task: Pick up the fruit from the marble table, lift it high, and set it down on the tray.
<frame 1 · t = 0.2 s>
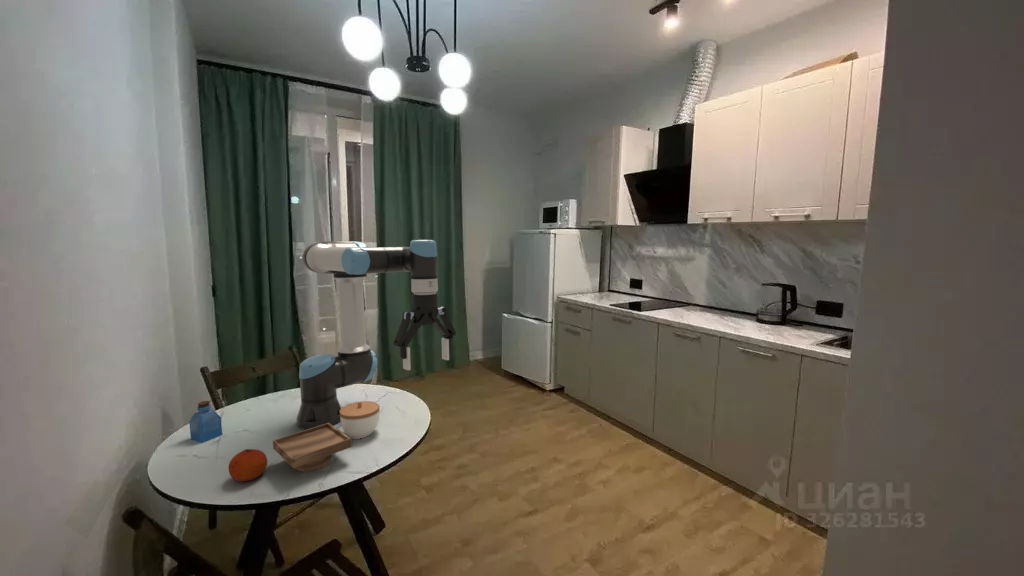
hand: (427, 364, 121), 28 cm above the table, fingers open, 13 cm apart
fruit: (249, 477, 112), on the table
tray: (313, 462, 119), on the table
lidded bowl: (361, 434, 137), on the table
perfume bottle: (206, 437, 135), on the table
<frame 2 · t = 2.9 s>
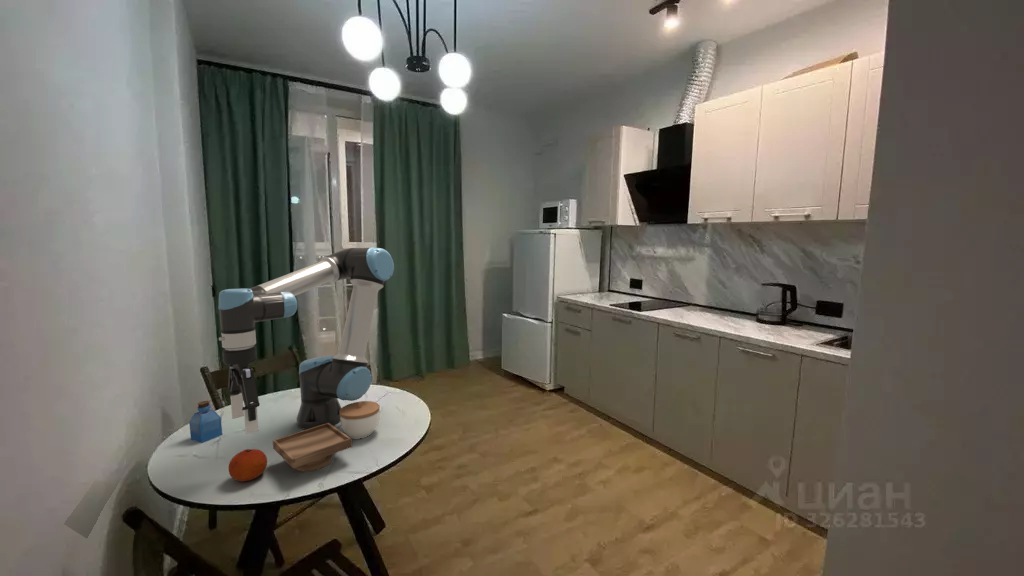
hand: (244, 424, 110), 15 cm above the table, fingers open, 13 cm apart
nothing on the table moved.
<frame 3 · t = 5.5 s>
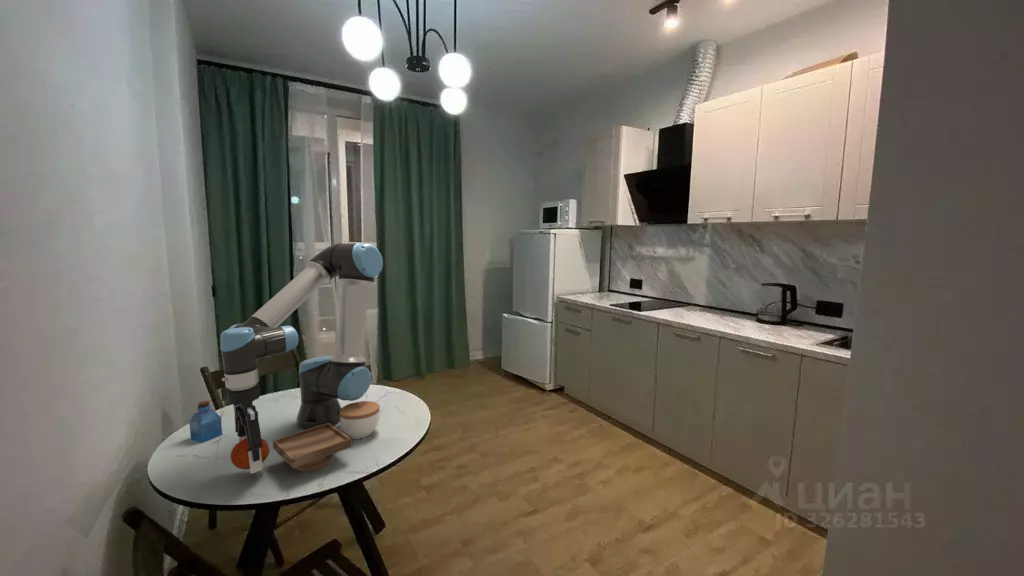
hand: (251, 464, 112), 3 cm above the table, fingers closed on fruit, 9 cm apart
fruit: (252, 465, 112), point 3 cm above the table, touching gripper
everything else where it was.
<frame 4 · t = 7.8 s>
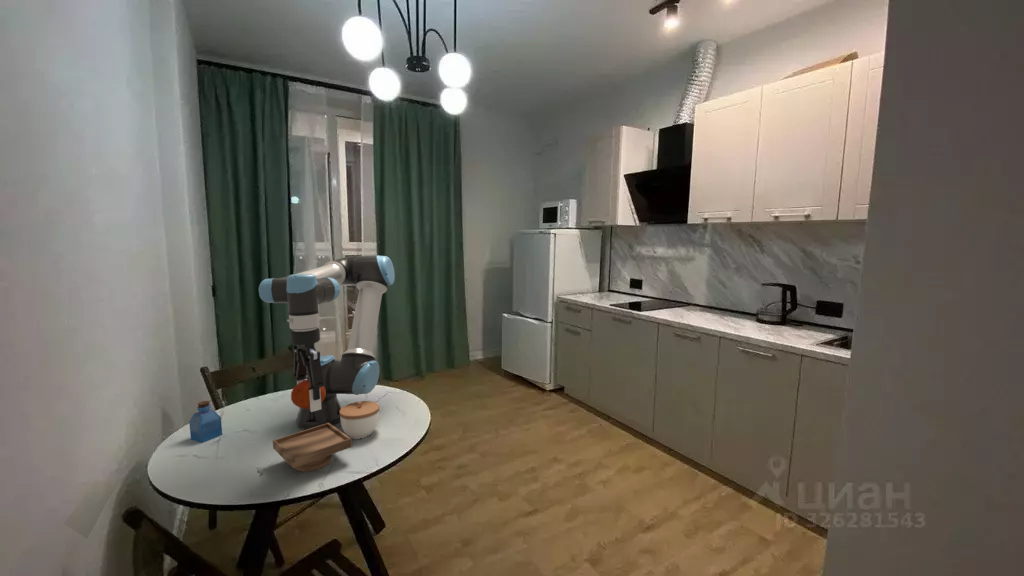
hand: (309, 405, 117), 17 cm above the table, fingers closed on fruit, 9 cm apart
fruit: (309, 407, 117), point 17 cm above the table, touching gripper
everything else where it was.
when the fingers open (7 cm above the table, at t = 10.1 s): fruit drops 1 cm, resting on tray.
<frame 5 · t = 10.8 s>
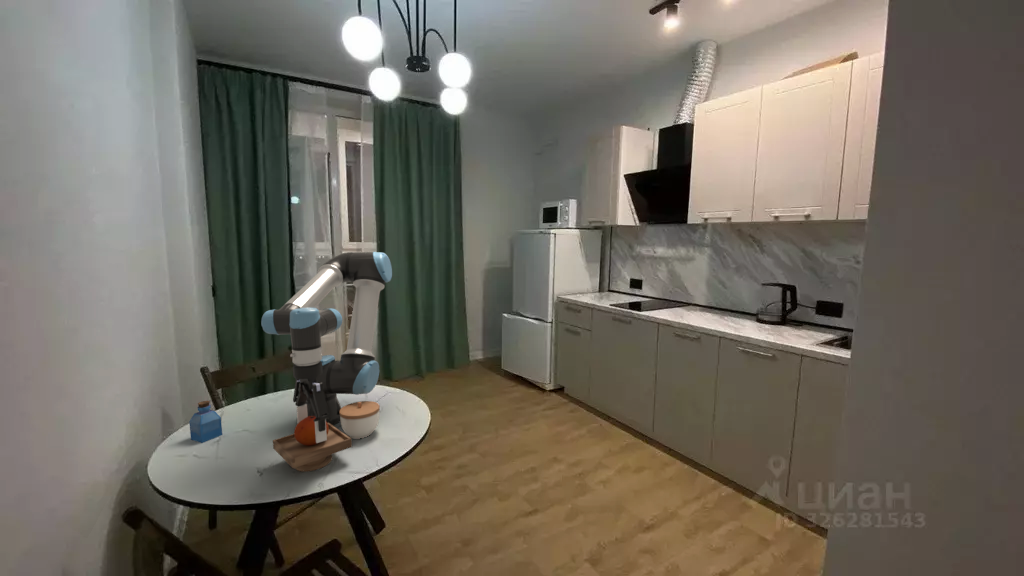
hand: (311, 433, 118), 9 cm above the table, fingers open, 13 cm apart
fruit: (312, 443, 118), point 6 cm above the table, touching tray
everything else where it was.
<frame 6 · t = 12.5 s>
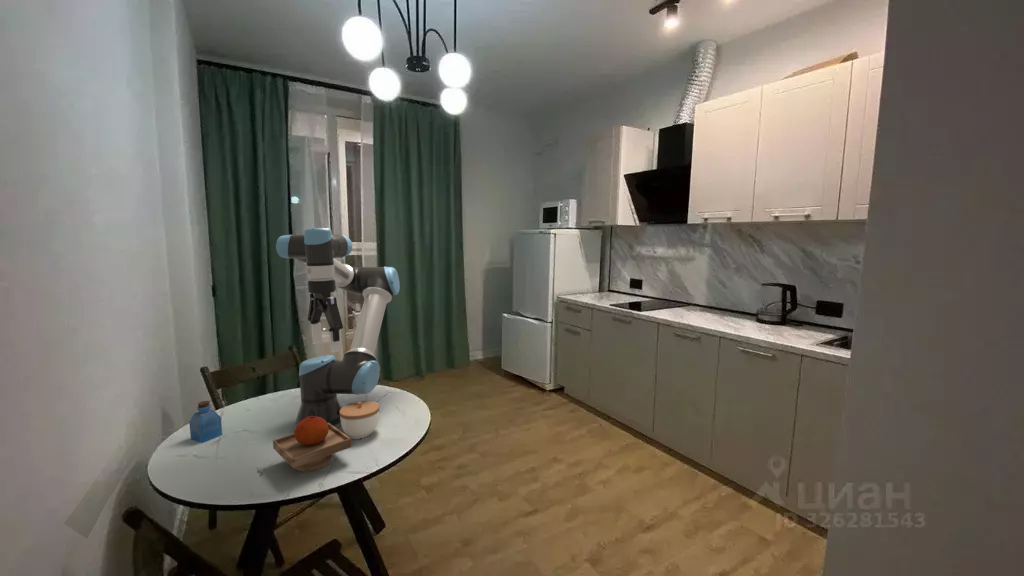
hand: (326, 347, 126), 32 cm above the table, fingers open, 13 cm apart
nothing on the table moved.
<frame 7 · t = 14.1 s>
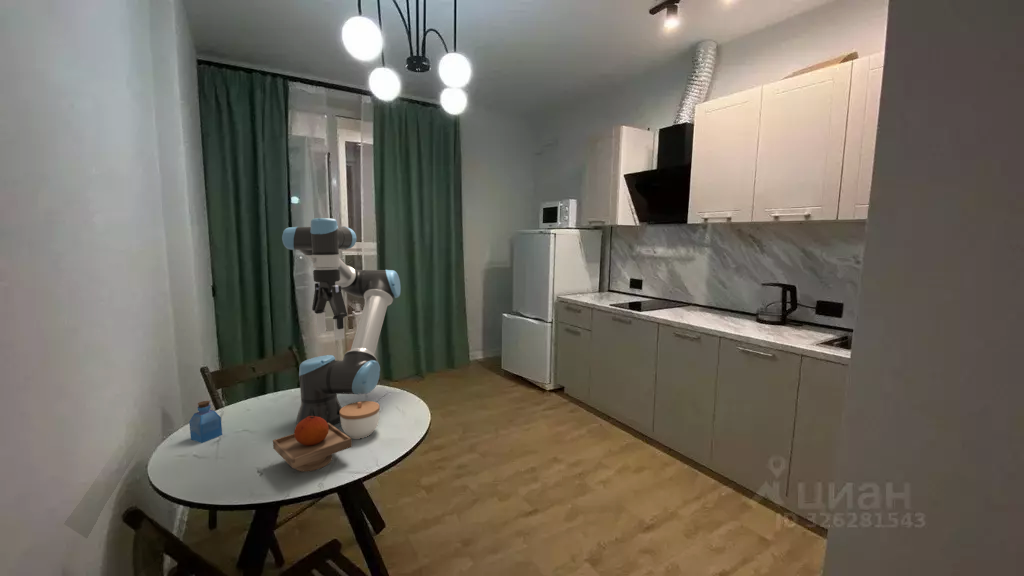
hand: (330, 336, 128), 35 cm above the table, fingers open, 13 cm apart
nothing on the table moved.
at the end: fruit 0.1 cm from the tray (horizontally); fruit point 5.8 cm above the table; the gripper is holding nothing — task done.
